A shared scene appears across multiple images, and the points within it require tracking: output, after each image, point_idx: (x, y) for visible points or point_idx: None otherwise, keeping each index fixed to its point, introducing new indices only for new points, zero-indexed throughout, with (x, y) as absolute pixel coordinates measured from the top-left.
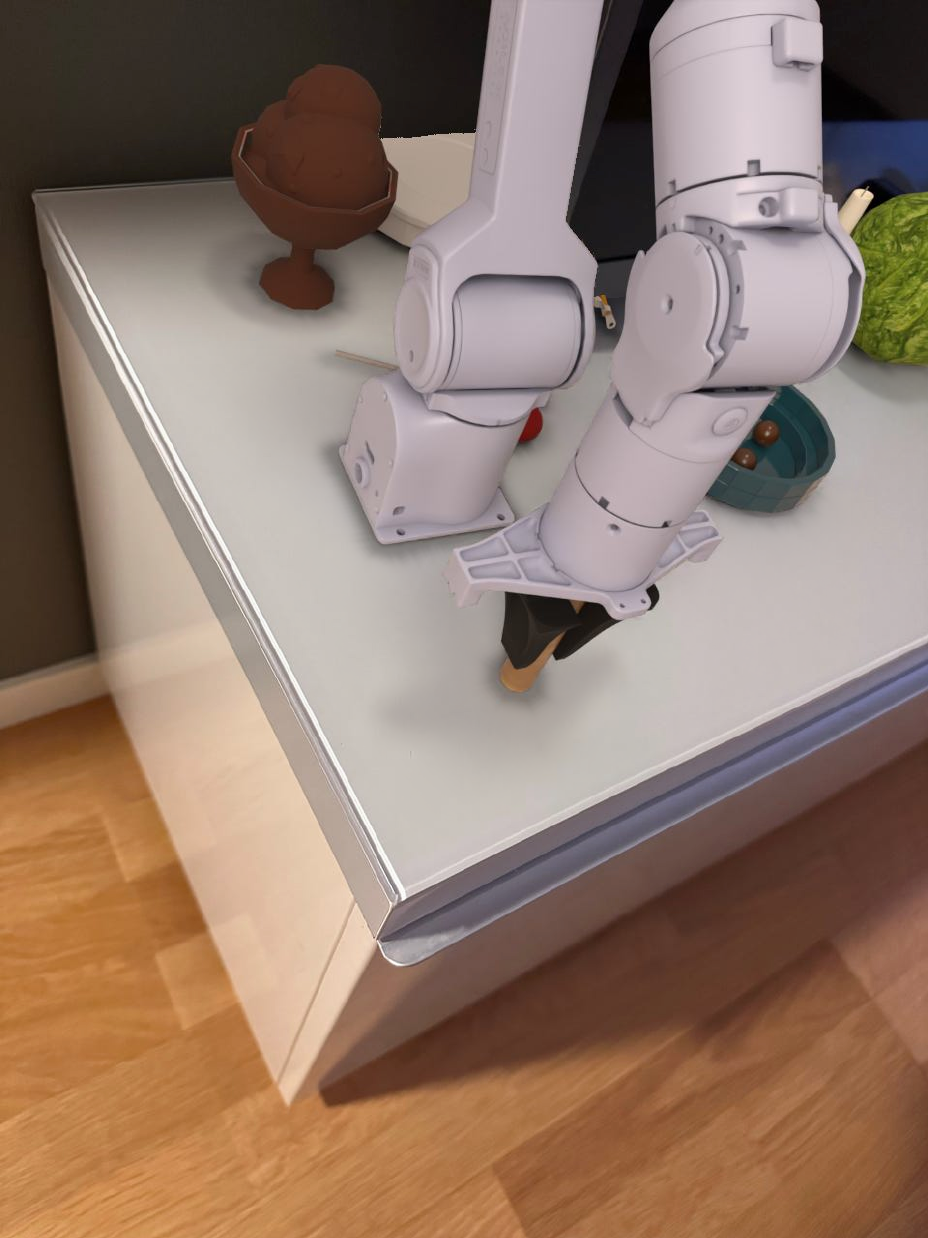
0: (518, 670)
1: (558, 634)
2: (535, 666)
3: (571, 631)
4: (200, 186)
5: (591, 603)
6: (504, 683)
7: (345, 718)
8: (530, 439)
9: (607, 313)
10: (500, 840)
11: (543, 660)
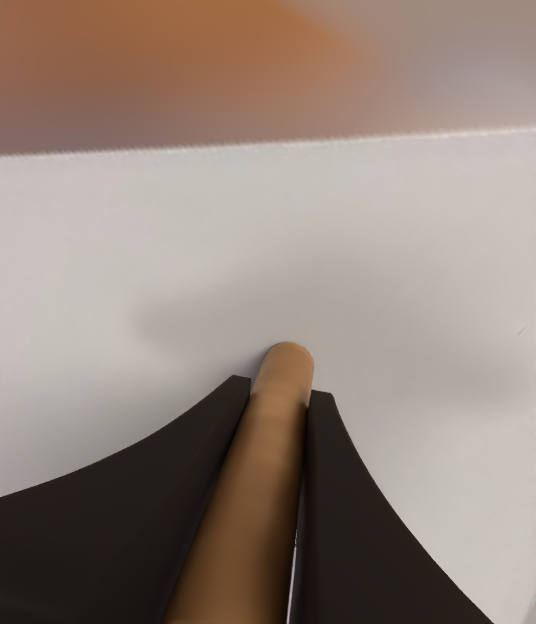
0: (307, 382)
1: (327, 511)
2: (290, 383)
3: (223, 438)
4: None
5: (174, 539)
6: (313, 364)
7: None
8: None
9: None
10: (498, 134)
11: (278, 390)
